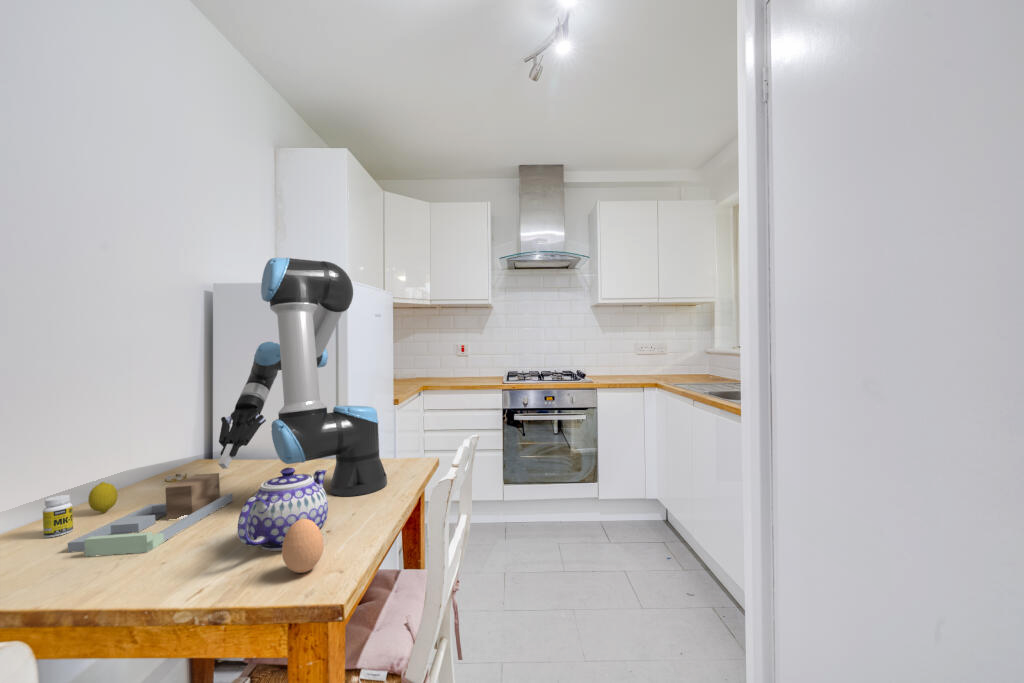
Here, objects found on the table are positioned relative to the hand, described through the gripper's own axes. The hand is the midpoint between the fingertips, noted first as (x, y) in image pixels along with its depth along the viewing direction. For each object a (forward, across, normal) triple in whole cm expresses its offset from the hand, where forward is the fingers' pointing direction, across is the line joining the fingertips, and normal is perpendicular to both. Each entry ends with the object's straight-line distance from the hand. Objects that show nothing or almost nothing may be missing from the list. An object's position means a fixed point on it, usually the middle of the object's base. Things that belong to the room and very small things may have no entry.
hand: (222, 466), depth 125 cm
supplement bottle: (+22, +23, +11) cm, 34 cm away
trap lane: (+21, +2, +11) cm, 24 cm away
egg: (+41, -44, +30) cm, 67 cm away
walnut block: (+15, -1, +4) cm, 16 cm away
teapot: (+31, -35, +20) cm, 51 cm away
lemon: (+13, +24, +2) cm, 28 cm away
